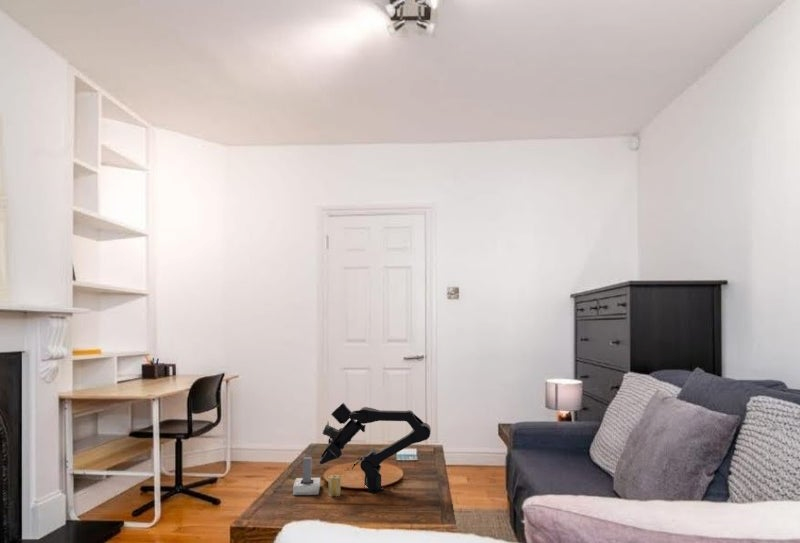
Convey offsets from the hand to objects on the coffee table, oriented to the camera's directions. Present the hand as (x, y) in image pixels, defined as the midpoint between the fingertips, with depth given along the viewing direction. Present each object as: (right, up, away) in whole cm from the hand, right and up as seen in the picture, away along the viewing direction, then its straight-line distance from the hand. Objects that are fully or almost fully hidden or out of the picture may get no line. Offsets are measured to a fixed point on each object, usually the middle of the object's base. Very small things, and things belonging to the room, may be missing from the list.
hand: (321, 460), depth 213 cm
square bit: (-6, -12, -1) cm, 13 cm away
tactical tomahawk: (+12, -15, +35) cm, 40 cm away
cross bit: (+6, -11, -6) cm, 14 cm away
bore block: (-5, -12, -1) cm, 13 cm away
